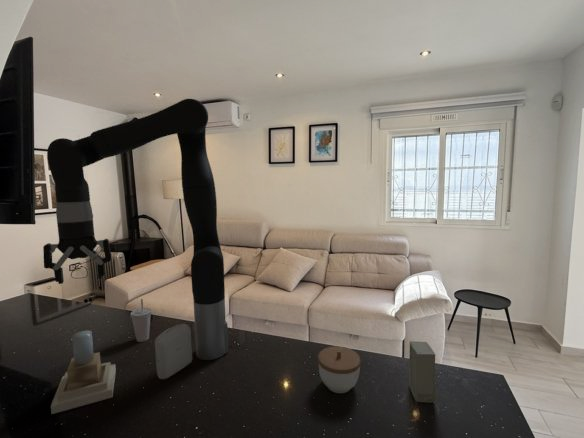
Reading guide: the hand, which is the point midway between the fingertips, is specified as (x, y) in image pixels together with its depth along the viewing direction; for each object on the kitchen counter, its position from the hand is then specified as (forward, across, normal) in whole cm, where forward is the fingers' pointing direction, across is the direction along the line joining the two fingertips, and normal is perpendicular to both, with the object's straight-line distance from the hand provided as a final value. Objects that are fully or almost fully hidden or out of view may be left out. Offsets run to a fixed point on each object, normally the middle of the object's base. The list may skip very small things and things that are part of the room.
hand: (81, 280), depth 79 cm
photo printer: (+27, +21, -8) cm, 35 cm away
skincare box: (+28, +74, -47) cm, 92 cm away
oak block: (+25, 0, -6) cm, 26 cm away
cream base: (+27, 0, -6) cm, 28 cm away
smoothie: (+27, +13, +16) cm, 34 cm away
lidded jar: (+28, +58, -35) cm, 73 cm away
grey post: (+19, 0, -6) cm, 20 cm away
